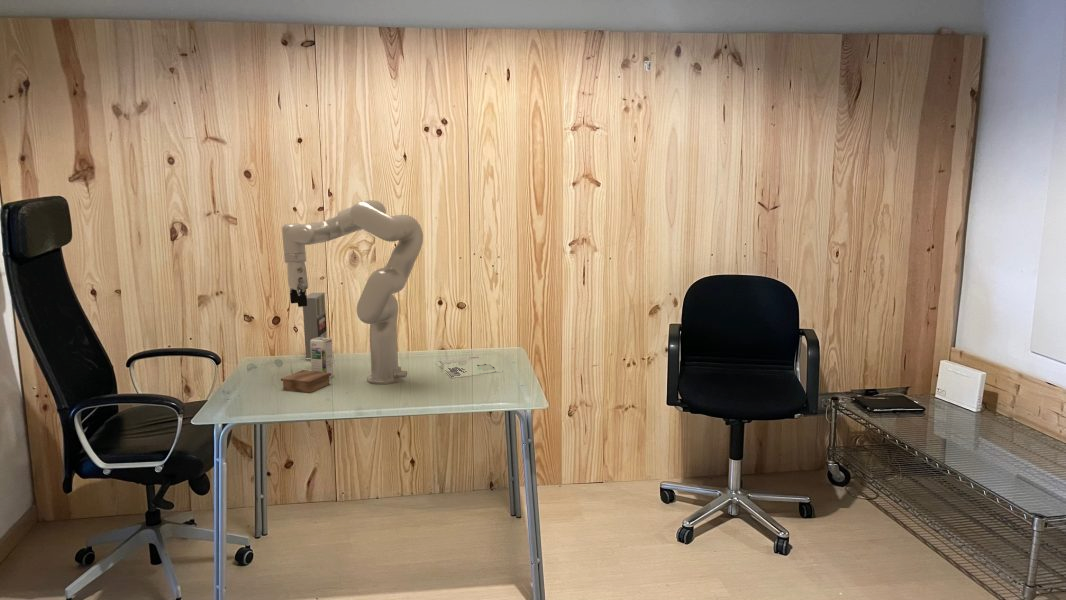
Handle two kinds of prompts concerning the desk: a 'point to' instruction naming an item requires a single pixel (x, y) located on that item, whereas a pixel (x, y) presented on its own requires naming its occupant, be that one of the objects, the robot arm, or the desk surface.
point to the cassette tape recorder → (314, 319)
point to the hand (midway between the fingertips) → (298, 304)
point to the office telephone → (454, 370)
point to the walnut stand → (306, 381)
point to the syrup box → (322, 355)
